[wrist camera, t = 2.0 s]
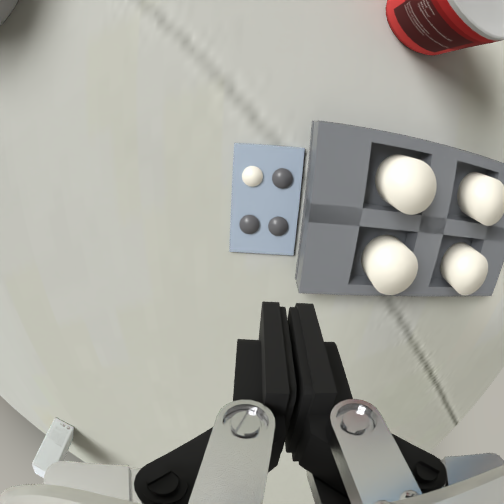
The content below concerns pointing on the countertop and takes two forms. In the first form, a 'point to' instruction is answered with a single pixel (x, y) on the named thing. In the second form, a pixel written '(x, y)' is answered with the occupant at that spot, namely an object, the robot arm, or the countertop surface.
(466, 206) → the button
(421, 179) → the button
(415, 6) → the canned food
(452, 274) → the button
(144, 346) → the countertop surface
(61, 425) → the skincare box
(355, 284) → the button board
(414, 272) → the button
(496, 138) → the countertop surface
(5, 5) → the coffee mug
